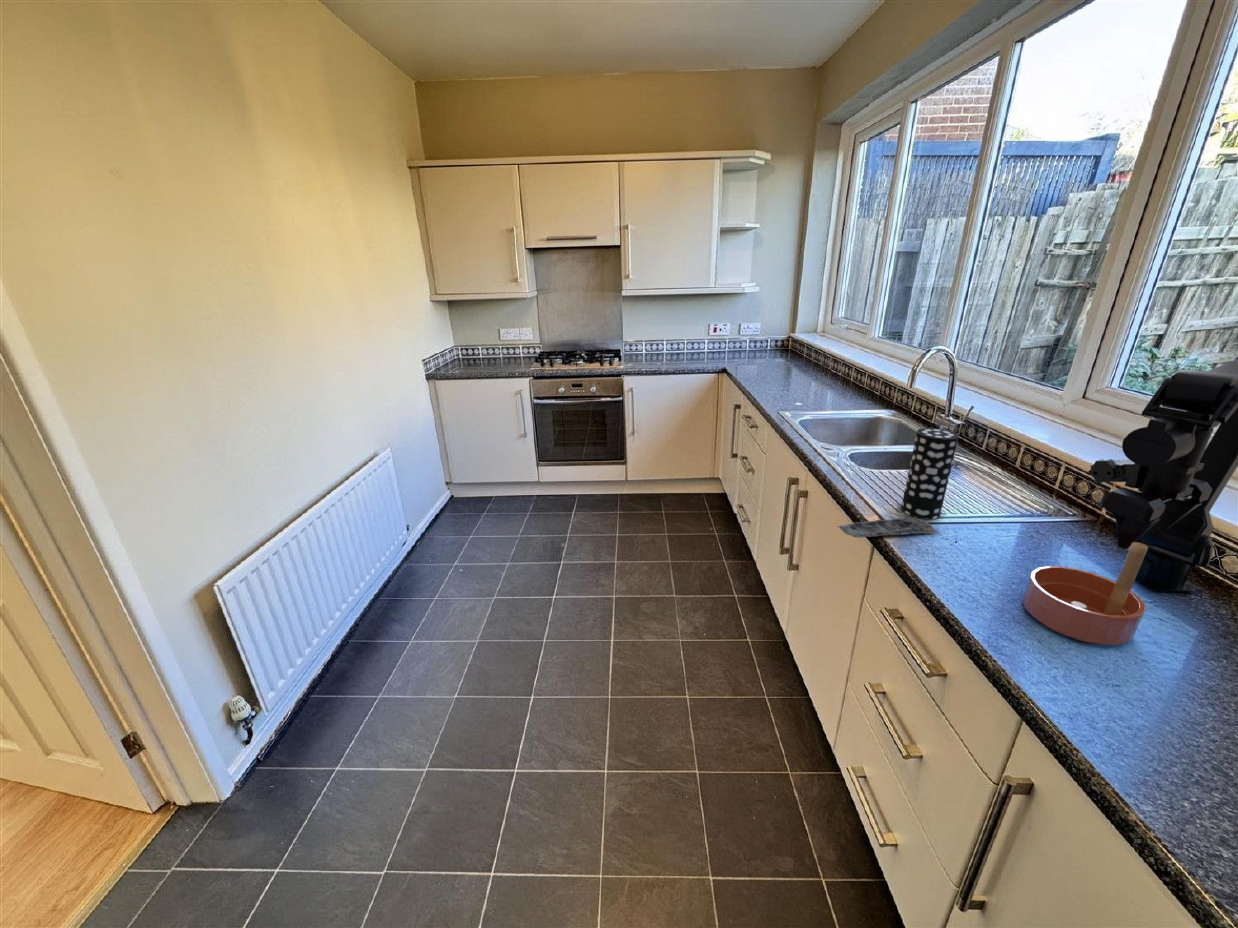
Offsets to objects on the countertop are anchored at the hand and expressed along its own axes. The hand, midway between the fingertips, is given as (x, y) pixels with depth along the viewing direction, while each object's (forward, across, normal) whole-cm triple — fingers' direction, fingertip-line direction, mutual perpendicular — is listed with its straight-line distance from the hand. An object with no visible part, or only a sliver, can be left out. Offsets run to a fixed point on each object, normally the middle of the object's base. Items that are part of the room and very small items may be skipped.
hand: (1137, 541), depth 84 cm
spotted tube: (+13, -3, -39) cm, 42 cm away
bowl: (+13, +10, -1) cm, 16 cm away
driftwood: (+13, +12, -36) cm, 40 cm away
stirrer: (+12, +10, -1) cm, 15 cm away
